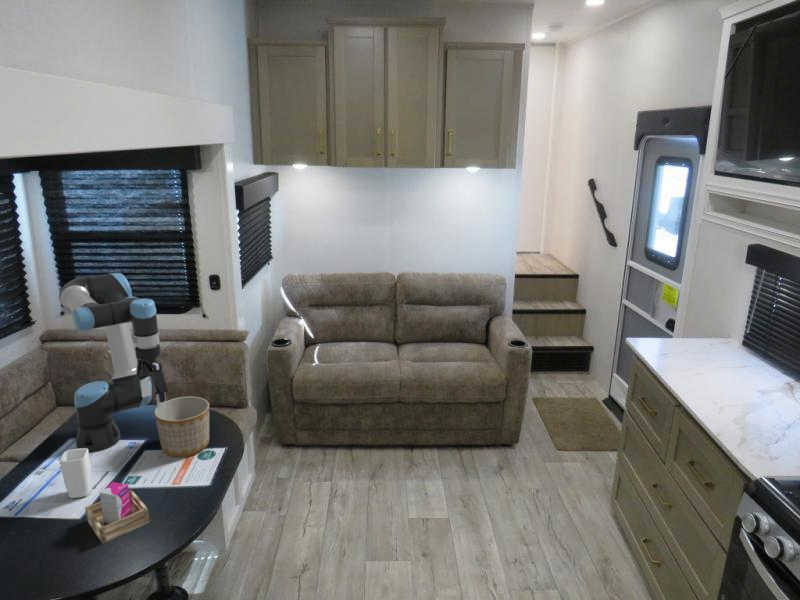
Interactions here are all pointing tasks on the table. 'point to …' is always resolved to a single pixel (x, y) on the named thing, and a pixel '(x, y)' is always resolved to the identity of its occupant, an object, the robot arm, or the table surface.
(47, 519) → the table surface
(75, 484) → the cup
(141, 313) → the robot arm
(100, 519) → the crate
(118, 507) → the supplement box
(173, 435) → the planter
